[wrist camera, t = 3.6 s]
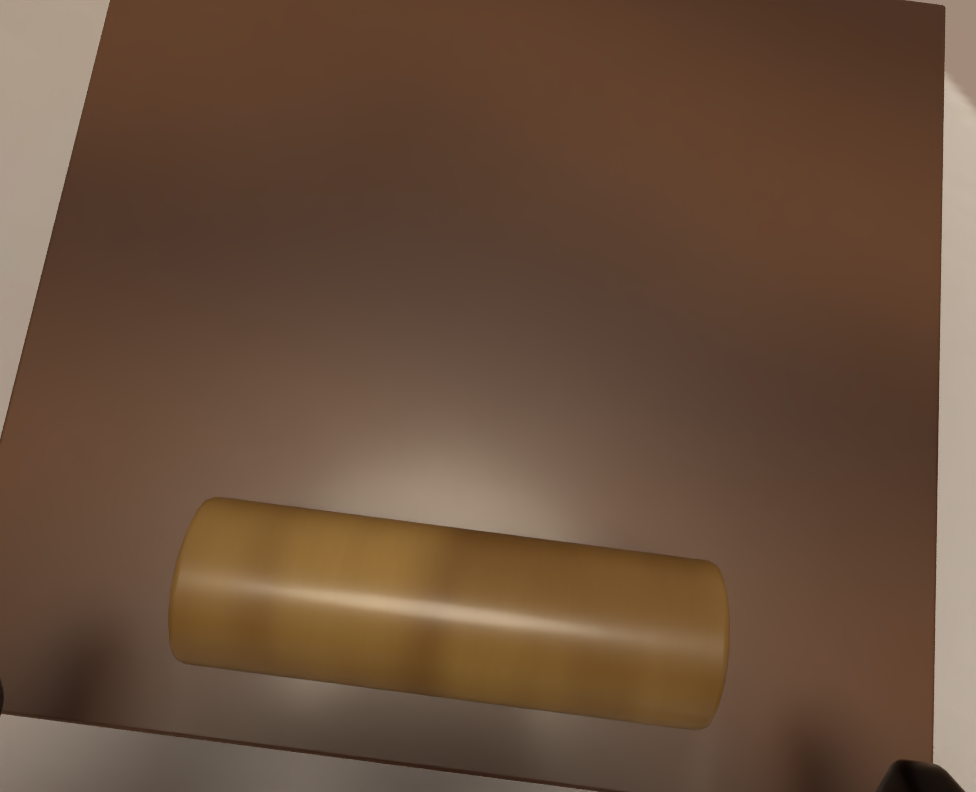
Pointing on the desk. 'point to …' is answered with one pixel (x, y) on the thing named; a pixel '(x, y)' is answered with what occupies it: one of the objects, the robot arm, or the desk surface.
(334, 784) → the desk surface
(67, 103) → the desk surface
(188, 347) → the lid
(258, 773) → the desk surface
